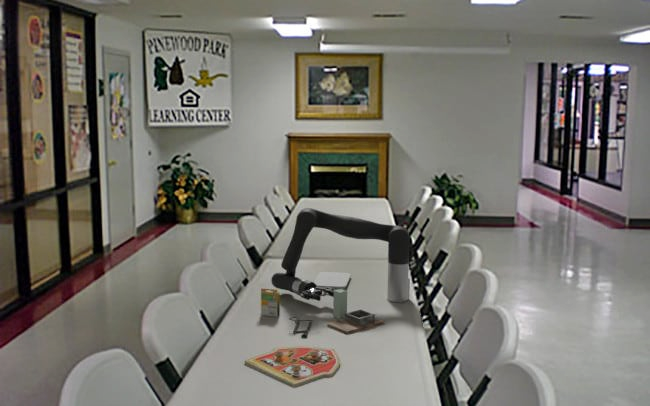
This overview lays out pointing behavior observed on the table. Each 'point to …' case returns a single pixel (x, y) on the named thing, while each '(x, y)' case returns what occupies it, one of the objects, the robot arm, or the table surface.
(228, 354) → the table surface
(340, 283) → the tablet
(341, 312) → the peg block
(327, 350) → the knob puzzle
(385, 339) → the table surface
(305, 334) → the hacksaw
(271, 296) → the crayon box
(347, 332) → the tool stand
